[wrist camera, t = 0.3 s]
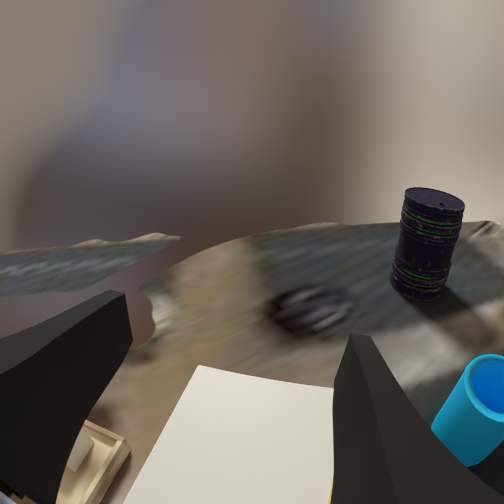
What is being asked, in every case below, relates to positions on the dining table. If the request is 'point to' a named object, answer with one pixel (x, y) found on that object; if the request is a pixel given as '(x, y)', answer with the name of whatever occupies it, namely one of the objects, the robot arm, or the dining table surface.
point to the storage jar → (426, 243)
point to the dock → (242, 444)
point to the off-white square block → (79, 450)
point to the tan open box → (91, 469)
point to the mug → (474, 411)
